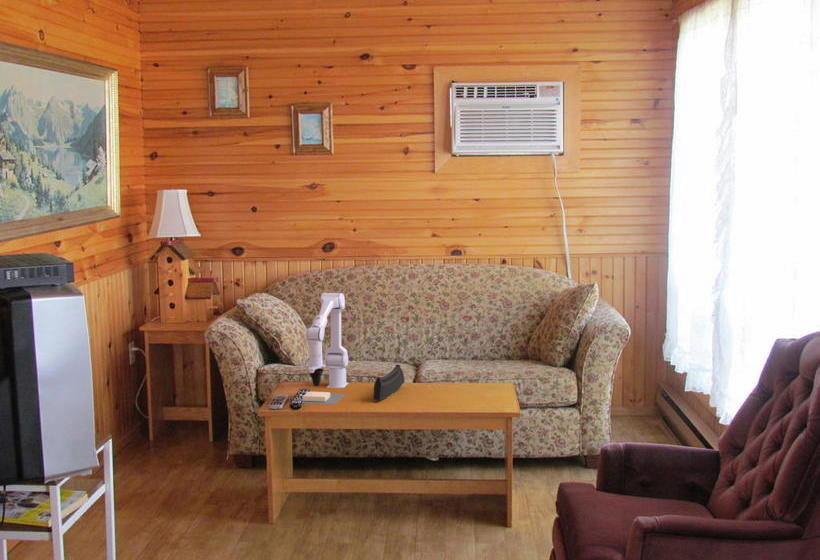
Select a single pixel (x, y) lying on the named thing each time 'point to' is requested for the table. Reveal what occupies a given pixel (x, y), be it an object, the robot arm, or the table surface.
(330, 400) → the mat
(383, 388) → the magazine
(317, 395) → the tile
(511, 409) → the table surface
